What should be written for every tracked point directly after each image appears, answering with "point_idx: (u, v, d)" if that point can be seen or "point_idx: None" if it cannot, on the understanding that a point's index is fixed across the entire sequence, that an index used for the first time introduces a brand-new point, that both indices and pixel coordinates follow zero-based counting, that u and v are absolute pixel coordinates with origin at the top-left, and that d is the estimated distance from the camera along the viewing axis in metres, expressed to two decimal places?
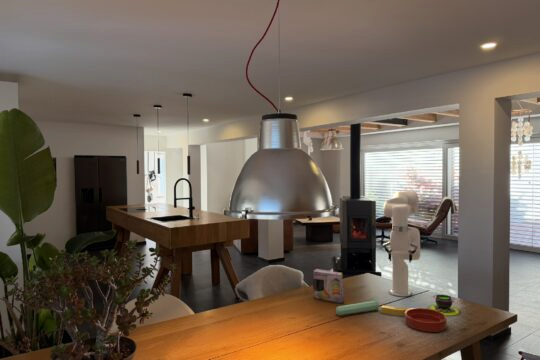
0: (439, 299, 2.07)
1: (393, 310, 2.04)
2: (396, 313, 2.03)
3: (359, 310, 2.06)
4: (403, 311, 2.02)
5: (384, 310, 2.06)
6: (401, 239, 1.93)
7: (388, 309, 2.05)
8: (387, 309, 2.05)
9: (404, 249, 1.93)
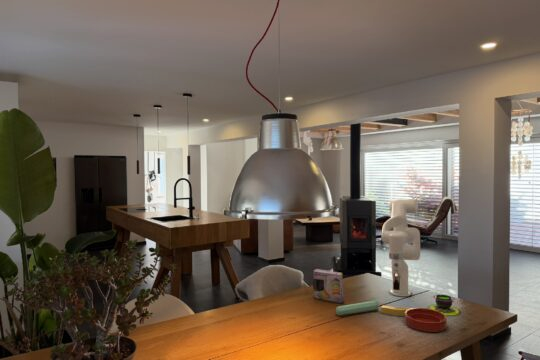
0: (439, 299, 2.07)
1: (393, 310, 2.04)
2: (396, 313, 2.03)
3: (359, 310, 2.06)
4: (403, 311, 2.02)
5: (384, 310, 2.06)
6: None
7: (388, 309, 2.05)
8: (387, 309, 2.05)
9: (392, 275, 2.03)
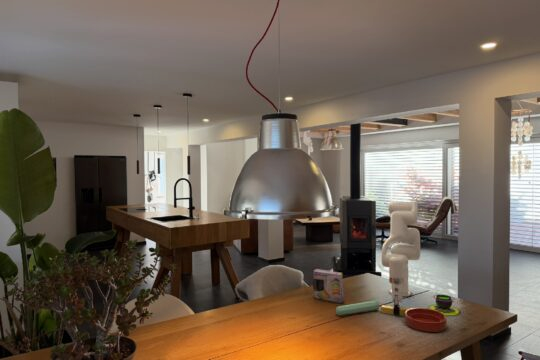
0: (439, 299, 2.07)
1: None
2: None
3: (359, 310, 2.06)
4: (403, 311, 2.03)
5: (384, 310, 2.07)
6: None
7: (388, 309, 2.06)
8: (387, 309, 2.06)
9: (392, 299, 2.03)
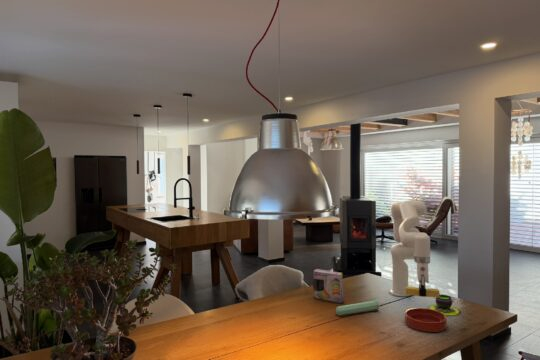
0: (439, 299, 2.07)
1: None
2: None
3: (359, 310, 2.06)
4: (429, 292, 1.89)
5: (408, 291, 1.93)
6: None
7: (413, 290, 1.92)
8: (412, 290, 1.92)
9: None
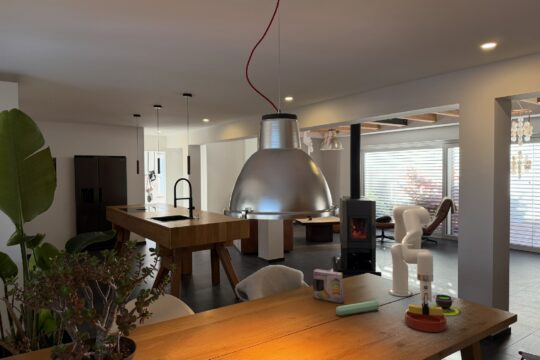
0: (439, 299, 2.07)
1: None
2: None
3: (359, 310, 2.06)
4: (433, 310, 1.88)
5: (411, 309, 1.92)
6: None
7: (416, 308, 1.91)
8: (415, 308, 1.91)
9: None
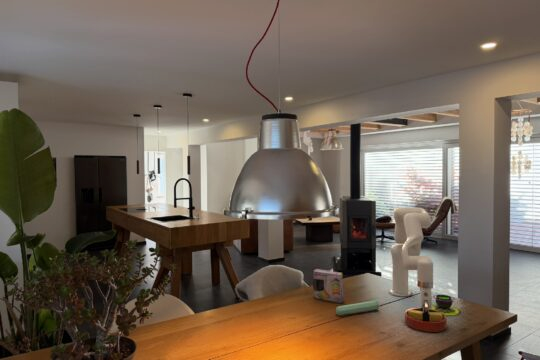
0: (439, 299, 2.07)
1: None
2: None
3: (359, 310, 2.06)
4: (433, 316, 1.88)
5: (411, 315, 1.92)
6: None
7: (416, 314, 1.91)
8: (415, 314, 1.91)
9: None
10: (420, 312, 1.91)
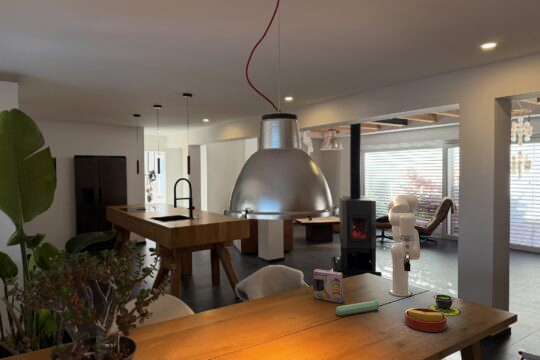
0: (439, 299, 2.07)
1: (422, 315, 1.89)
2: (425, 318, 1.89)
3: (359, 310, 2.06)
4: (433, 316, 1.88)
5: (411, 315, 1.92)
6: None
7: (416, 314, 1.91)
8: (415, 314, 1.91)
9: (403, 256, 2.04)
10: (420, 312, 1.91)
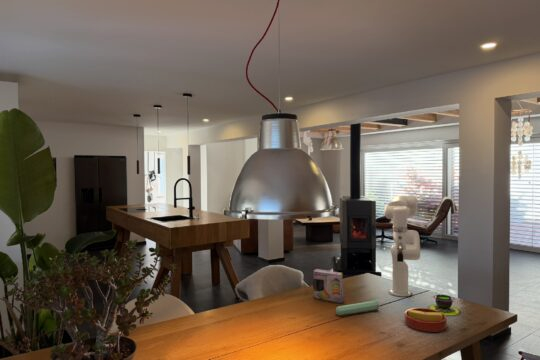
0: (439, 299, 2.07)
1: (422, 315, 1.89)
2: (425, 318, 1.89)
3: (359, 310, 2.06)
4: (433, 316, 1.88)
5: (411, 315, 1.92)
6: (395, 238, 2.11)
7: (416, 314, 1.91)
8: (415, 314, 1.91)
9: (396, 247, 2.10)
10: (420, 312, 1.91)
